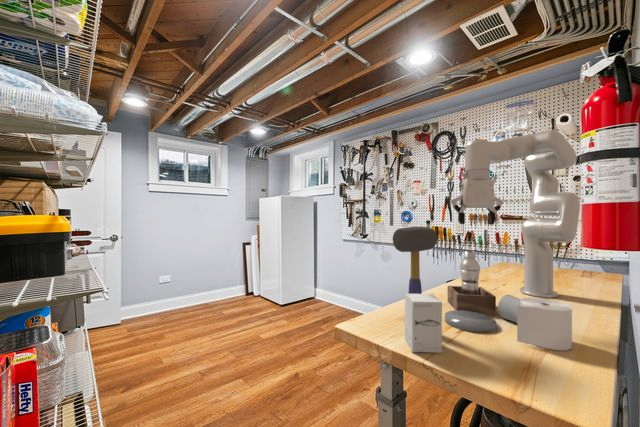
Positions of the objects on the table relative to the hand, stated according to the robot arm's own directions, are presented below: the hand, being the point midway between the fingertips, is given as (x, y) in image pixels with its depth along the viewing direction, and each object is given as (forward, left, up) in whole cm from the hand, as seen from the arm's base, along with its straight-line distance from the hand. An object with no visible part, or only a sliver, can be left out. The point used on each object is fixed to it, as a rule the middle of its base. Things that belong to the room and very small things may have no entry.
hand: (476, 224), depth 98 cm
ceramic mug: (+10, +9, -30) cm, 33 cm away
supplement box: (+32, -24, -30) cm, 50 cm away
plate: (+14, -7, -30) cm, 34 cm away
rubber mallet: (+20, -24, -30) cm, 43 cm away
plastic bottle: (-1, -2, -30) cm, 30 cm away
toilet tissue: (+24, +8, -30) cm, 39 cm away
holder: (-1, -2, -30) cm, 30 cm away
